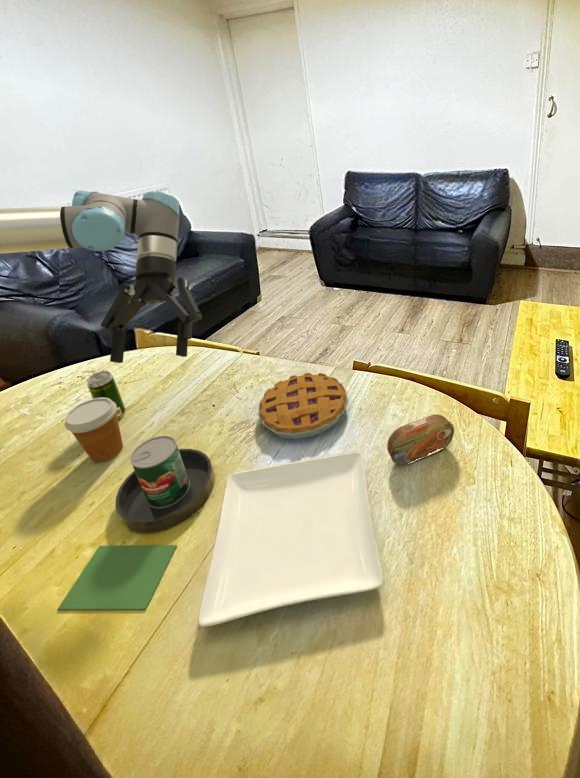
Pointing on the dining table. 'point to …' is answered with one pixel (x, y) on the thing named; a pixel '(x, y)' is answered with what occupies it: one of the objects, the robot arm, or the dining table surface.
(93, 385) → the beer can
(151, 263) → the robot arm
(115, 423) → the disposable coffee cup
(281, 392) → the pie
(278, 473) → the square plate
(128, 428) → the dining table surface
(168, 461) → the canned tomato
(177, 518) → the pan
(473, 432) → the dining table surface
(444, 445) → the tin
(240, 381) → the dining table surface
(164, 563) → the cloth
